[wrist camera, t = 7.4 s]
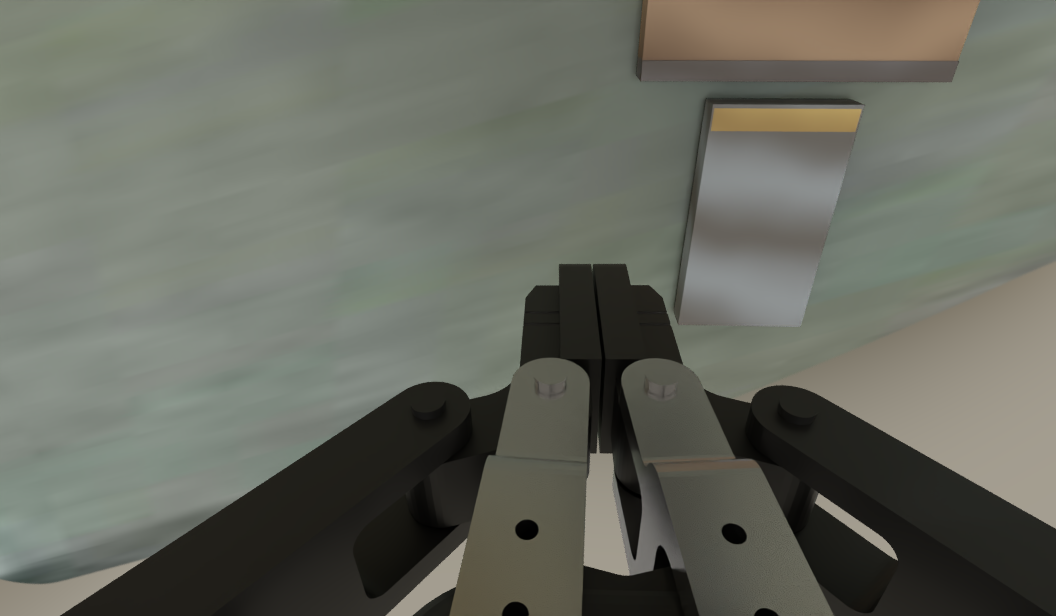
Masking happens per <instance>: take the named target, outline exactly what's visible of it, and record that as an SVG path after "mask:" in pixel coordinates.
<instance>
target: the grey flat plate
mask: <svg viewBox="0 0 1056 616" xmlns="http://www.w3.org/2000/svg"><path fill="white" fill-rule="evenodd" d="M864 106H865V105H863V104H861V103H859V102H856V101H854V100H851V99H706V103H705V110H704V116H703V123H702V129H701V136H700V142H699V149H698V156H697V162H696V169H695V175H694V182H693V189H692V195H691V202H690V208H689V215H688V222H687V228H686V235H685V241H684V248H683V255H682V261H681V268H680V274H679V281H678V288H677V294H676V301H675V307H674V314H675V317H676V320H677V323H678V325H728V326H786V327H801V323H802V320H803V316H804V313H805V310H806V306H807V303H808V299H809V296H810V292H811V289H812V285H813V282H814V279H815V275H816V272H817V268H818V265H819V261H820V258H821V254H822V251H823V248H824V244H825V241H826V237H827V234H828V230H829V227H830V223H831V220H832V217H833V213H834V210H835V206H836V203H837V199H838V196H839V192H840V189H841V186H842V182H843V179H844V175H845V172H846V168H847V165H848V161H849V158H850V155H851V151H852V148H853V144H854V141H855V137H856V134H857V130H858V127H859V124H860V120H861V117H862V113H863V110H864Z"/></svg>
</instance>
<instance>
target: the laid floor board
mask: <svg viewBox="0 0 1056 616" xmlns="http://www.w3.org/2000/svg"><path fill="white" fill-rule="evenodd" d="M979 2H980V0H643V5H642V16H641V27H640V38H639V49H638V60H637V71H636V76H637V77H638V78H639V79H640V81H767V82H952V79H953V77H954V74H955V71H956V68H957V66H958V63H959V61H958V59H959V57H960V54H961V51H962V48H963V46H964V43H965V40H966V37H967V35H968V32H969V29H970V26H971V24H972V21H973V18H974V15H975V13H976V10H977V7H978V4H979Z"/></svg>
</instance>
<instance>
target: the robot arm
mask: <svg viewBox="0 0 1056 616" xmlns="http://www.w3.org/2000/svg"><path fill="white" fill-rule="evenodd" d="M597 434H598V438H599V450H600V453H613V462H614V473H613V483H612V486H613V493H614V498H615V502H616V507H617V513H618V518H619V523H620V528H621V533H622V538H623V543H624V548H625V553H626V558H627V563H628V568H629V573H630V576H622V575H617V574H614V573H610V572H606V571H602V570H598V569H594V568H591V567H587V566H583V564H584V535H585V534H584V533H585V507H586V480H587V478H588V474H589V465H590V453H596V451H597ZM818 493H820V494H821V495H823V496H824V497H825V498H827V499H829V500H830V501H831V502H833V503H834V504H836V505H837V506H839V507H840V508H841V509H843V510H844V511H846V512H847V513H849V514H850V515H851V516H853V517H854V518H856V519H857V520H859V521H860V522H862V523H863V524H865V525H866V526H867V527H869V528H870V529H872V530H873V531H875V532H876V533H878V534H879V535H880V536H882V537H883V538H884V539H885V540H886V541H887V542H888V543H889V544H890V545H891V547H892V548H893V550H894V551H895V553H896V555H897V558H898V561H897V560H895V559H893V558H892V557H890V556H888V555H887V554H886V553H884V552H883V551H881V550H880V549H879V548H877V547H876V546H874V545H873V544H871V543H870V542H869V541H867V540H866V539H865V538H863V537H862V536H860V535H859V534H857V533H856V532H855V531H853V530H852V529H850V528H849V527H847V526H846V525H845V524H843V523H842V522H841V521H839V520H838V519H836V518H835V517H833V516H832V515H831V514H829V513H828V512H826V511H825V510H824V509H822V508H821V507H819V506H818V505H816V504H815V501H816V499H817V496H818ZM466 538H467V543H466V547H465V551H464V555H463V560H462V564H461V568H460V573H459V577H458V581H457V585H456V587H455V588H453V589H451V590H449V591H447V592H445V593H443V594H441V595H440V596H438V597H437V598H435V599H434V600H432V601H431V602H429V603H428V604H426V605H425V606H424V607H422V608H421V609H420V610H419V611H418V612H416V613H415V614H414V615H413V616H1056V529H1055V528H1053V527H1051V526H1050V525H1048V524H1046V523H1044V522H1043V521H1041V520H1039V519H1037V518H1036V517H1034V516H1032V515H1030V514H1028V513H1027V512H1025V511H1023V510H1021V509H1019V508H1018V507H1016V506H1014V505H1012V504H1011V503H1009V502H1007V501H1005V500H1004V499H1002V498H1000V497H998V496H997V495H995V494H993V493H991V492H989V491H988V490H986V489H984V488H982V487H981V486H979V485H977V484H975V483H973V482H972V481H970V480H968V479H966V478H964V477H963V476H961V475H959V474H957V473H956V472H954V471H952V470H950V469H949V468H947V467H945V466H943V465H942V464H940V463H938V462H936V461H934V460H933V459H931V458H929V457H927V456H925V455H924V454H922V453H920V452H918V451H917V450H915V449H913V448H911V447H910V446H908V445H906V444H904V443H903V442H901V441H899V440H897V439H895V438H894V437H892V436H890V435H888V434H886V433H885V432H883V431H881V430H879V429H878V428H876V427H874V426H872V425H870V424H869V423H867V422H865V421H864V420H862V419H860V418H858V417H856V416H855V415H853V414H851V413H849V412H847V411H846V410H844V409H842V408H840V407H839V406H837V405H835V404H833V403H832V402H830V401H828V400H826V399H825V398H823V397H821V396H819V395H817V394H815V393H813V392H810V391H808V390H805V389H802V388H798V387H793V386H783V385H782V386H771V387H767V388H764V389H762V390H760V391H759V392H757V393H756V394H755V396H754V397H753V399H752V402H751V403H748V402H743V401H739V400H734V399H730V398H726V397H722V396H719V395H716V394H713V393H711V392H709V391H707V390H705V389H704V388H703V386H702V384H701V382H700V380H699V378H698V376H697V375H696V374H695V373H694V372H693V371H692V370H690V369H689V368H688V367H686V366H684V365H683V363H682V359H681V356H680V353H679V350H678V346H677V343H676V340H675V337H674V333H673V330H672V327H671V326H670V320H669V317H668V314H667V311H666V307H665V304H664V301H663V298H662V297H661V296H660V295H659V294H658V293H657V292H656V291H655V290H654V289H653V288H652V287H650V286H649V285H631V284H630V280H629V276H628V271H627V267H626V264H593V269H591V264H559V286H535V287H534V288H533V290H532V291H531V292H530V293H529V294H528V296H527V297H526V301H525V314H524V326H523V336H522V348H521V360H520V368H519V369H518V370H517V371H516V372H515V374H514V375H513V378H512V381H511V384H510V385H508V386H507V387H505V388H504V389H502V390H500V391H498V392H496V393H493V394H490V395H487V396H482V397H478V398H474V399H469V398H468V396H467V394H466V393H465V392H464V391H463V390H462V389H460V388H459V387H457V386H455V385H453V384H449V383H445V382H427V383H421V384H418V385H415V386H412V387H410V388H408V389H406V390H404V391H403V392H401V393H400V394H398V395H396V396H395V397H393V398H392V399H390V400H389V401H387V402H386V403H384V404H383V405H381V406H380V407H378V408H377V409H375V410H374V411H372V412H371V413H369V414H367V415H366V416H364V417H363V418H361V419H360V420H358V421H357V422H355V423H354V424H352V425H351V426H349V427H348V428H346V429H345V430H343V431H341V432H340V433H338V434H337V435H335V436H334V437H332V438H331V439H329V440H328V441H326V442H325V443H323V444H322V445H320V446H319V447H317V448H316V449H314V450H312V451H311V452H309V453H308V454H306V455H305V456H303V457H302V458H300V459H299V460H297V461H296V462H294V463H293V464H291V465H290V466H288V467H287V468H285V469H283V470H282V471H280V472H279V473H277V474H276V475H274V476H273V477H271V478H270V479H268V480H267V481H265V482H264V483H262V484H261V485H259V486H257V487H256V488H254V489H253V490H251V491H250V492H248V493H247V494H245V495H244V496H242V497H241V498H239V499H238V500H236V501H235V502H233V503H232V504H230V505H228V506H227V507H225V508H224V509H222V510H221V511H219V512H218V513H216V514H215V515H213V516H212V517H210V518H209V519H207V520H206V521H204V522H203V523H201V524H199V525H198V526H196V527H195V528H193V529H192V530H190V531H189V532H187V533H186V534H184V535H183V536H181V537H180V538H178V539H177V540H175V541H173V542H172V543H170V544H169V545H167V546H166V547H164V548H163V549H161V550H160V551H158V552H157V553H155V554H154V555H152V556H151V557H149V558H148V559H146V560H144V561H143V562H142V563H140V564H138V565H137V566H135V567H134V568H132V569H131V570H129V571H128V572H126V573H125V574H123V575H122V576H120V577H118V578H117V579H115V580H114V581H112V582H111V583H109V584H108V585H106V586H105V587H103V588H102V589H100V590H99V591H97V592H96V593H94V594H93V595H91V596H90V597H88V598H86V599H85V600H83V601H82V602H81V603H79V604H77V605H76V606H74V607H73V608H71V609H70V610H68V611H67V612H65V613H64V614H62V615H60V616H385V615H387V614H388V613H389V612H390V611H391V610H392V609H393V608H394V607H395V606H396V605H397V604H398V603H399V602H400V601H401V600H402V599H403V598H404V597H406V596H407V595H408V594H409V593H410V592H411V591H412V590H413V589H414V588H415V587H416V586H417V585H418V584H419V583H420V582H421V581H422V580H423V579H424V578H425V577H427V576H428V575H429V574H430V572H432V571H433V570H434V569H435V568H436V567H437V566H438V565H439V564H440V563H441V562H442V561H443V560H444V559H445V558H446V557H448V556H449V555H450V554H451V553H452V552H453V551H454V550H455V549H456V548H457V547H458V546H459V545H460V544H461V543H462V542H463V541H464V540H465V539H466Z"/></svg>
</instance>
